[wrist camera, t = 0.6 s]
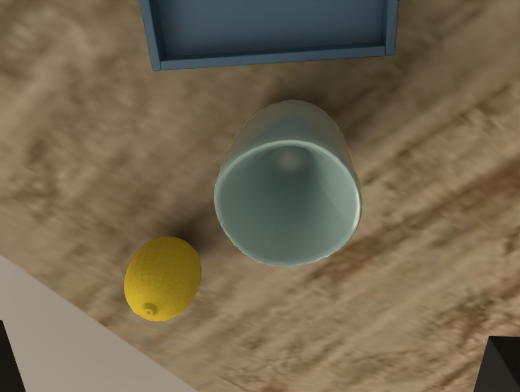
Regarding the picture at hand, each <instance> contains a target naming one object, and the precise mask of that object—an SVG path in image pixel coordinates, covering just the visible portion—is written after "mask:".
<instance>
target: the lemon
mask: <svg viewBox="0 0 520 392" xmlns="http://www.w3.org/2000/svg"><path fill="white" fill-rule="evenodd" d="M201 273H202V271H201V263H200V259H199V257H198V255H197V253H196V251H195V250H194V249H193V247H192V246H191V245H189V244H188V243H187V242H186V241H184V240H182V239H179V238H176V237H168V236H165V237H159V238H156V239H153V240H151V241H149V242H147V243H146V244H145V245H144V246H142V247H141V248H140V249H139V250H138V251H137V252H136V254H135V255H134V257H133V258H132V260H131V261H130V263H129V266H128V268H127V272H126V276H125V281H124V290H125V297H126V299H127V302H128V304H129V306H130V307H131V308H132V310H133V311H134V312H135V313H137V314H138V315H139V316H141V317H143V318H145V319H148V320H152V321H164V320H169V319H172V318H174V317H175V316H177V315H179V314H180V313H182V312H183V311H184V310H185V309H186V308H187V307H188V306H189V304H190V303H191V302H192V300H193V298H194V297H195V295H196V293H197V291H198V289H199V285H200V280H201Z"/></svg>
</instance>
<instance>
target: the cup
mask: <svg viewBox="0 0 520 392" xmlns="http://www.w3.org/2000/svg"><path fill="white" fill-rule="evenodd" d="M214 204H215V211H216V214H217V217H218V220H219V223H220V225H221V227H222V228H223V230H224V232H225V234H226V235H227V236H228V238H229V239H230V240H231V241H232V243H233V244H234V245H235V246H236V247H237V248H239V249H240V250H241V251H242V252H243V253H244V254H246V255H248V256H249V257H251V258H252V259H254V260H256V261H259V262H261V263H263V264H266V265H272V266H277V267H294V266H301V265H306V264H310V263H313V262H316V261H319V260H321V259H323V258H325V257H328V256H330V255H331V254H333V253H334V252H336V251H337V250H339V249H340V248H342V247H343V246H344V245H345V244H346V243H347V242H348V241H349V240H350V239H351V237H352V236H353V234H354V233H355V231H356V230H357V228H358V225H359V222H360V219H361V214H362V195H361V188H360V183H359V178H358V175H357V171H356V167H355V164H354V161H353V158H352V155H351V152H350V149H349V146H348V144H347V141H346V139H345V137H344V135H343V134H342V132H341V130H340V128H339V127H338V125H337V124H336V122H335V121H334V120H333V119H332V118H331V117H330V116H329V114H328V113H326V112H325V111H324V110H322V109H321V108H320V107H318V106H317V105H314V104H312V103H310V102H308V101H303V100H284V101H280V102H276V103H273V104H271V105H268V106H266V107H264V108H263V109H261V110H259V111H258V112H256V113H255V114H254V115H252V116H251V117H250V118H249V119H248V120H247V121H246V122H245V123H244V124H243V126H242V127H241V128H240V130H239V131H238V132H237V134H236V135H235V137H234V138H233V140H232V142H231V144H230V146H229V149H228V151H227V153H226V156H225V158H224V160H223V163H222V165H221V168H220V170H219V173H218V175H217V178H216V182H215V189H214Z"/></svg>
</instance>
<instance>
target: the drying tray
mask: <svg viewBox="0 0 520 392" xmlns="http://www.w3.org/2000/svg"><path fill="white" fill-rule="evenodd" d="M139 1H140V6H141V11H142V16H143V22H144V27H145V32H146V38H147V43H148V48H149V54H150V59H151V64H152V70H153V71H160V70H175V69H191V68H206V67H222V66H237V65H253V64H268V63H284V62H299V61H315V60H330V59H346V58H361V57H377V56H392V55H395V48H396V32H397V17H398V1H399V0H139Z"/></svg>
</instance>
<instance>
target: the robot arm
mask: <svg viewBox="0 0 520 392" xmlns="http://www.w3.org/2000/svg"><path fill="white" fill-rule="evenodd" d="M0 392H25V388H24V385H23V382H22V379H21V376H20V373H19V370H18V367H17V364H16V361H15V358H14V355H13V352H12V349H11V345H10V342H9V339H8V336H7V333H6V330H5V327H4V324H3V321H2V320H0ZM473 392H520V337H507V336H489V338H488V342H487V345H486V349H485V352H484V356H483V360H482V363H481V367H480V370H479V374H478V377H477V381H476V384H475V388H474V391H473Z"/></svg>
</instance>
